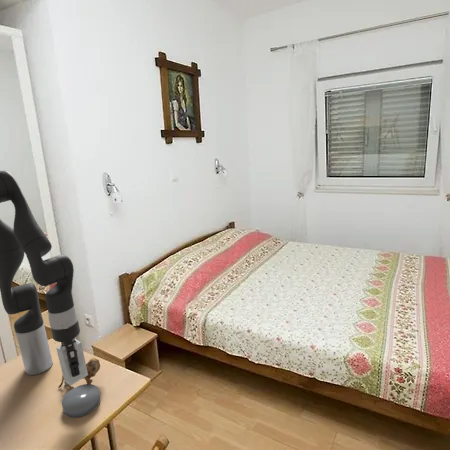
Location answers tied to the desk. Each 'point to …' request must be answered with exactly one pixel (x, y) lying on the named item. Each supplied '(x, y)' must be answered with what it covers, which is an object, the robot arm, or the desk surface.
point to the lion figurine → (92, 369)
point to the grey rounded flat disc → (80, 400)
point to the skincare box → (66, 369)
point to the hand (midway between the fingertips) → (74, 370)
